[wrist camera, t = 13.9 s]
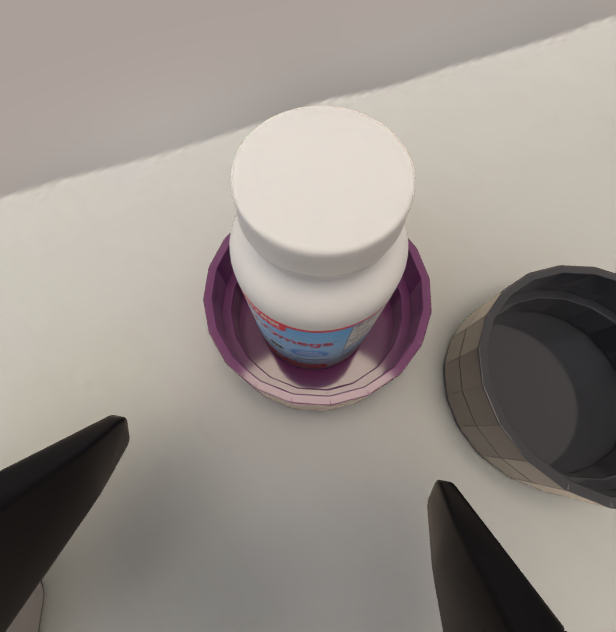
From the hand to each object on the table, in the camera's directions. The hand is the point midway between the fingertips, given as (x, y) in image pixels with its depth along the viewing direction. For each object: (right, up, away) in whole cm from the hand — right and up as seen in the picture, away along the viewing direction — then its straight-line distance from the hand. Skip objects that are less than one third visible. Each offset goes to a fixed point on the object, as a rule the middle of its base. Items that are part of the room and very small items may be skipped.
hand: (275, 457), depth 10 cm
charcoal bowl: (+13, 0, +8) cm, 16 cm away
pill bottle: (+1, +4, +10) cm, 10 cm away
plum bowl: (+1, +4, +10) cm, 11 cm away
